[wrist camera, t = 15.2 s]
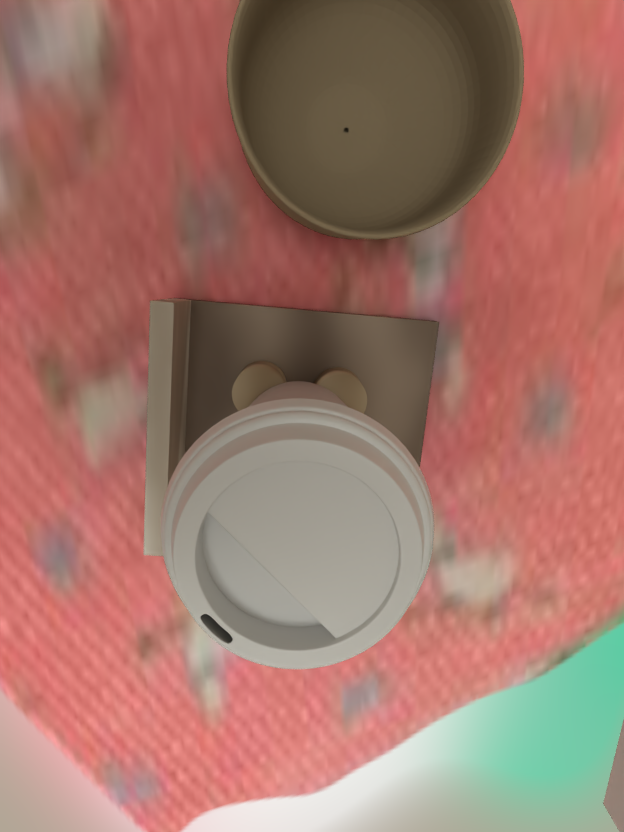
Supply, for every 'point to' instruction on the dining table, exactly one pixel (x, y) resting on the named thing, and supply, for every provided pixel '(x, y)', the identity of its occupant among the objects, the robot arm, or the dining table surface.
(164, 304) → the peg stand
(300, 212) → the bowl
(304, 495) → the coffee cup
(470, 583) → the dining table surface
